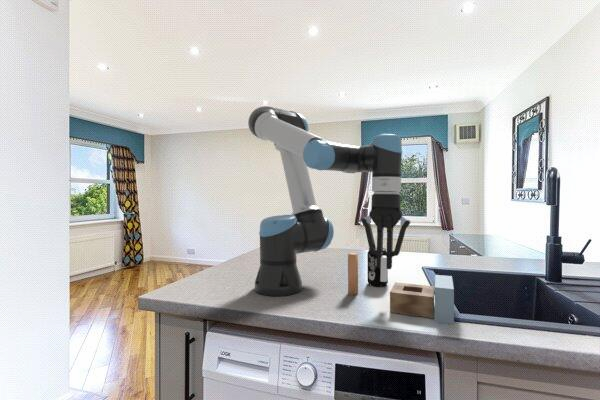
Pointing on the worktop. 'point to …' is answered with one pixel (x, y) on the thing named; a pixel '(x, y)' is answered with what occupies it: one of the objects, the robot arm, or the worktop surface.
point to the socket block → (412, 299)
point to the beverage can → (375, 270)
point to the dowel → (352, 273)
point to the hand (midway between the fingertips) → (384, 280)
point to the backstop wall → (444, 299)
